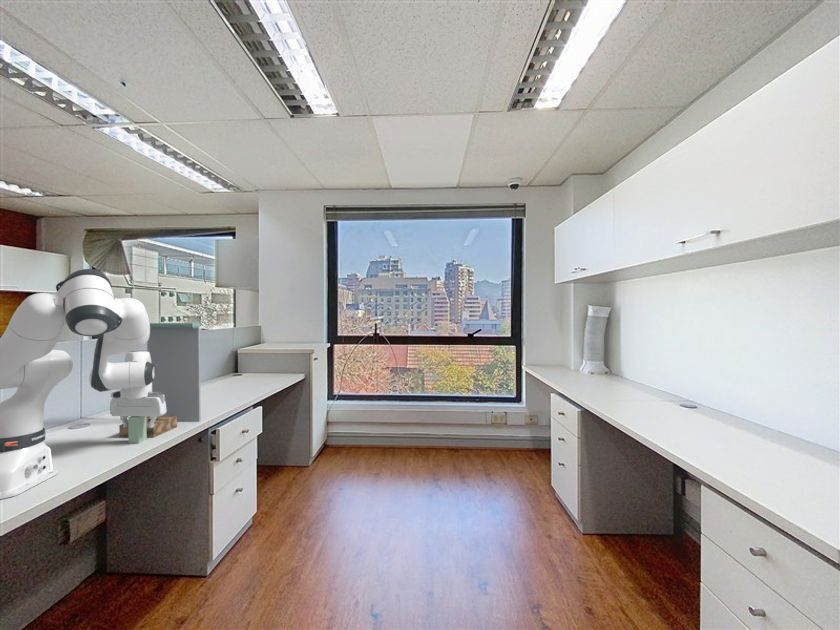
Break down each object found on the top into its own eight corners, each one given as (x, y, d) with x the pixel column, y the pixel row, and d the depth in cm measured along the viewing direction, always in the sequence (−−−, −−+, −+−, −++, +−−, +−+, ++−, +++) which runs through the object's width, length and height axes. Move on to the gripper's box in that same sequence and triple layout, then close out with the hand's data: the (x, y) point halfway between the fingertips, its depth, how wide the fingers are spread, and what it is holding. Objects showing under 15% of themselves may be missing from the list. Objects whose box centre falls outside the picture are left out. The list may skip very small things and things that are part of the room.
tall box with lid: (193, 424, 168) (192, 323, 168) (140, 424, 168) (139, 323, 168) (200, 420, 173) (199, 322, 173) (149, 420, 174) (148, 323, 173)
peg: (138, 443, 144) (138, 417, 144) (128, 443, 144) (128, 417, 144) (146, 439, 148) (146, 414, 148) (136, 439, 148) (136, 414, 148)
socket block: (153, 437, 151) (153, 425, 150) (119, 437, 151) (119, 425, 151) (176, 426, 165) (176, 415, 164) (145, 426, 165) (145, 415, 165)
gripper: (170, 390, 148) (170, 424, 149) (120, 390, 149) (120, 424, 149) (158, 393, 142) (158, 430, 142) (106, 393, 143) (106, 429, 143)
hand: (138, 427), depth 146 cm, fingers open, 8 cm apart
